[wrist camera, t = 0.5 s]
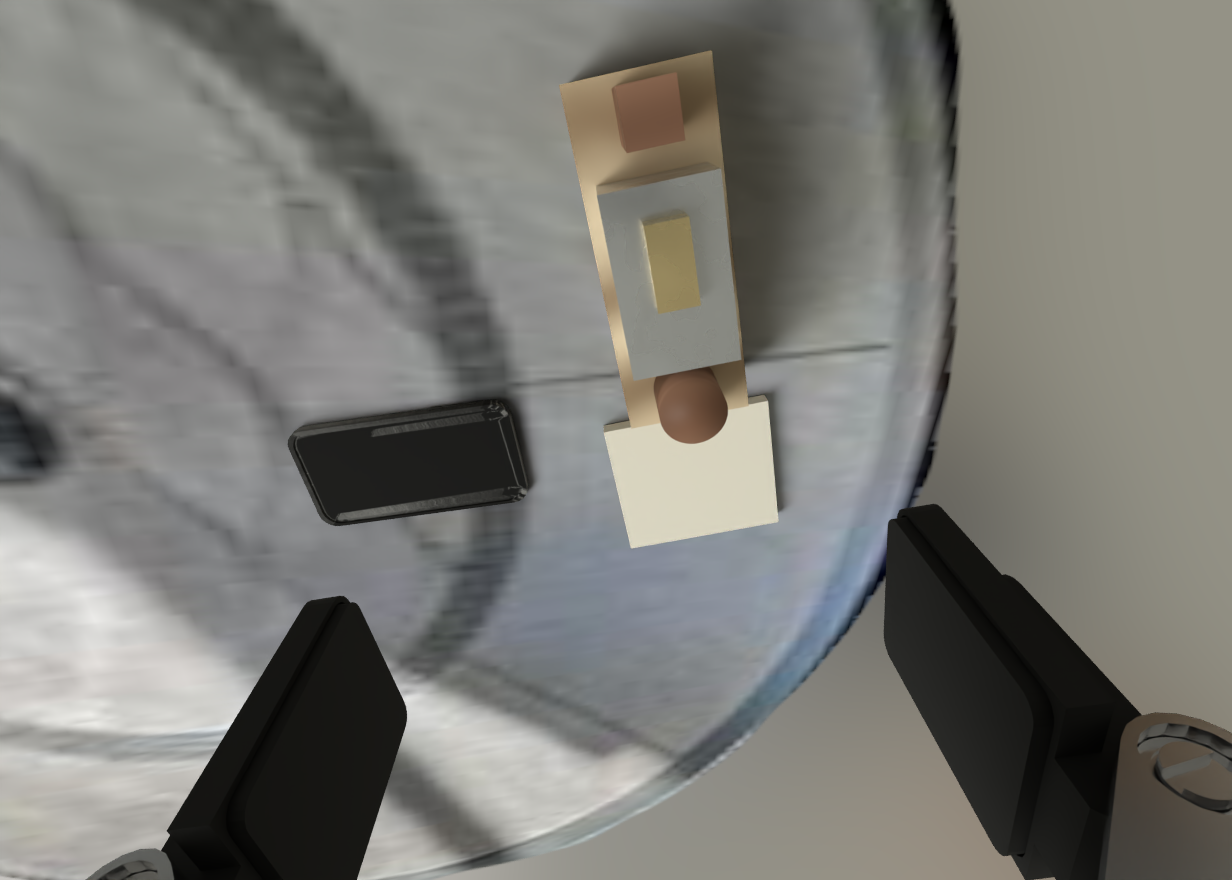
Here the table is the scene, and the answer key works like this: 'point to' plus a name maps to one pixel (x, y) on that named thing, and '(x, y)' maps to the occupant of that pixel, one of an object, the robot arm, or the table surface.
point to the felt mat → (694, 478)
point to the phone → (411, 462)
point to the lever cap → (672, 269)
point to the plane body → (641, 145)
